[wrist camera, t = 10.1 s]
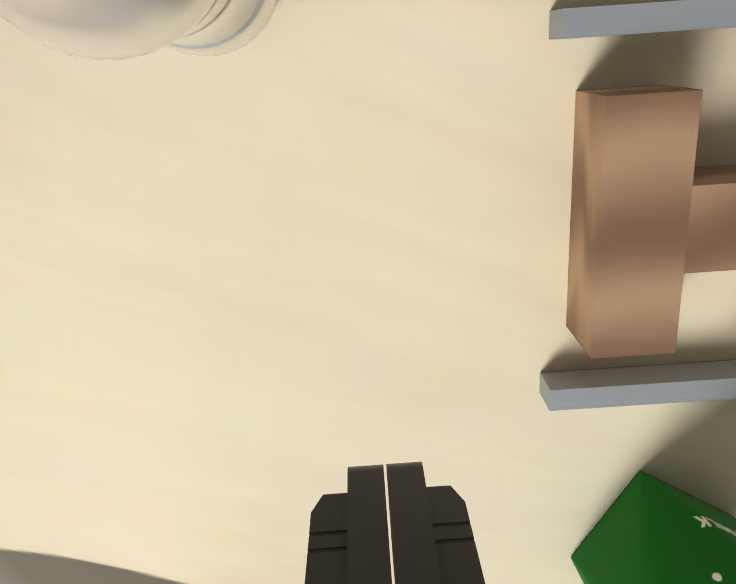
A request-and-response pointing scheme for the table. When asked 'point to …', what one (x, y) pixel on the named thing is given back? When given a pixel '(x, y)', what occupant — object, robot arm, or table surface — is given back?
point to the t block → (641, 217)
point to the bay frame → (655, 382)
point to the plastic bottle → (139, 25)
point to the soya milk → (659, 539)
